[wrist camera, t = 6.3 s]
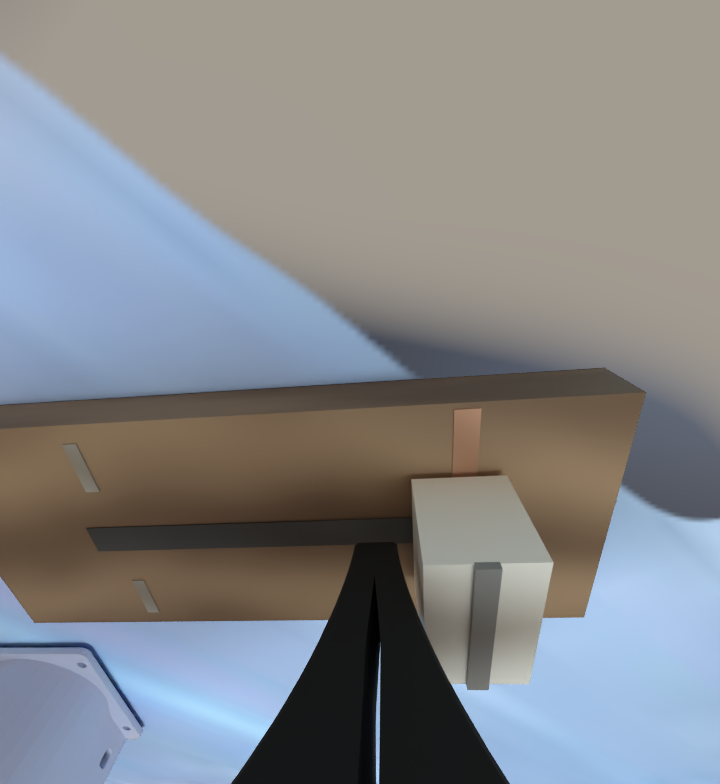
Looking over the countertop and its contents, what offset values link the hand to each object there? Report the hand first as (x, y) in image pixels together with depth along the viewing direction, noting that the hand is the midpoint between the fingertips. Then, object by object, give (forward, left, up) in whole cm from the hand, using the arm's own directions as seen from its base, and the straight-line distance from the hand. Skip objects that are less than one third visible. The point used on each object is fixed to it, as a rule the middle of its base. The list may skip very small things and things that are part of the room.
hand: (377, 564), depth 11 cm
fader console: (0, +4, -3) cm, 5 cm away
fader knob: (0, -3, -1) cm, 3 cm away
